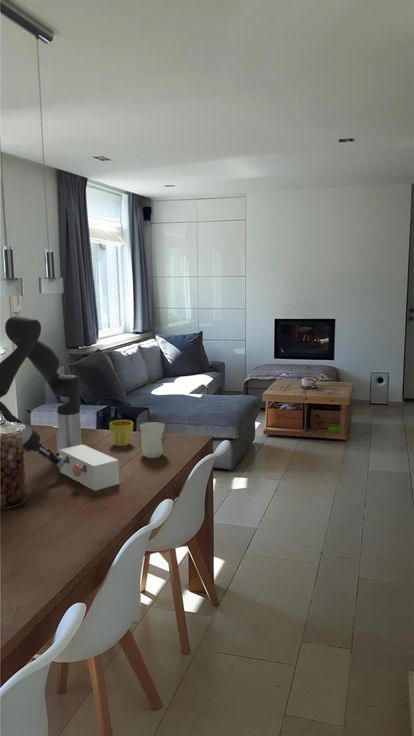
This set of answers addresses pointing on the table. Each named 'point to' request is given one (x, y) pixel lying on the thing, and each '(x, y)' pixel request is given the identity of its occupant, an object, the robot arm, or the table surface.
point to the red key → (78, 469)
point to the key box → (91, 467)
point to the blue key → (62, 461)
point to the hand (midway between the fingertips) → (57, 462)
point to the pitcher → (152, 439)
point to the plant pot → (121, 432)
